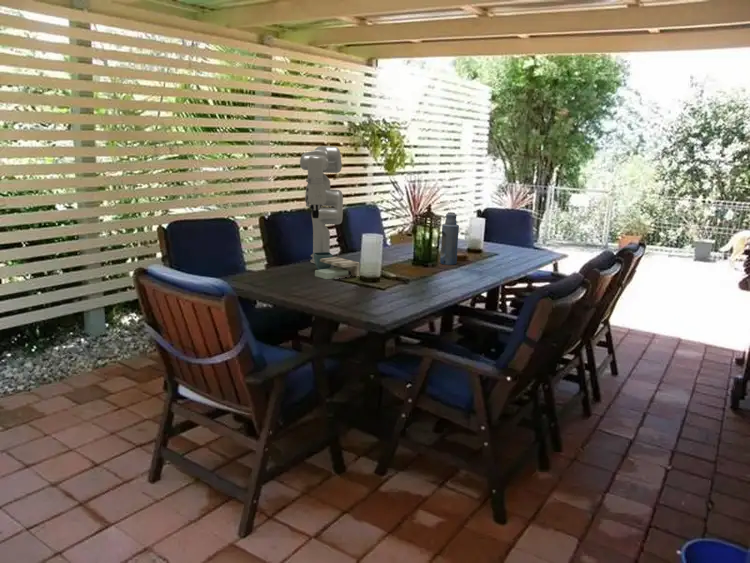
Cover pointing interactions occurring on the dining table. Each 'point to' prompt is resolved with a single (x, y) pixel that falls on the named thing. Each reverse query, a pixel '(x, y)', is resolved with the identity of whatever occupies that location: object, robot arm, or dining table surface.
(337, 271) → the pale green flat block
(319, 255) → the flower pot
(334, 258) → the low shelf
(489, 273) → the dining table surface
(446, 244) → the bottle
